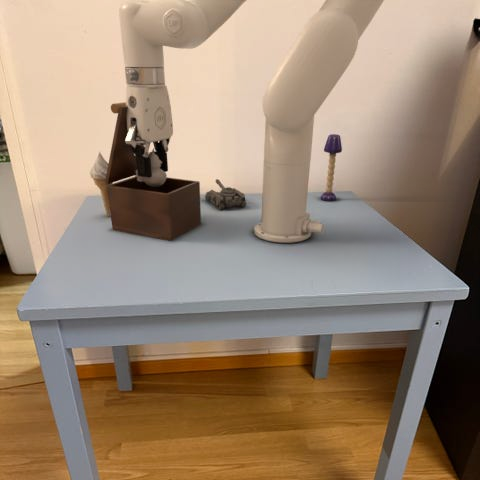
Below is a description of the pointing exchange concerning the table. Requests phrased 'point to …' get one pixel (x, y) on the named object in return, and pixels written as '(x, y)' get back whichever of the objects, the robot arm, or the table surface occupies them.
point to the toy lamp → (331, 164)
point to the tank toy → (225, 197)
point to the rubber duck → (154, 172)
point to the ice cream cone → (101, 179)
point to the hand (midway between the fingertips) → (153, 172)
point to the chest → (155, 207)
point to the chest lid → (120, 149)
